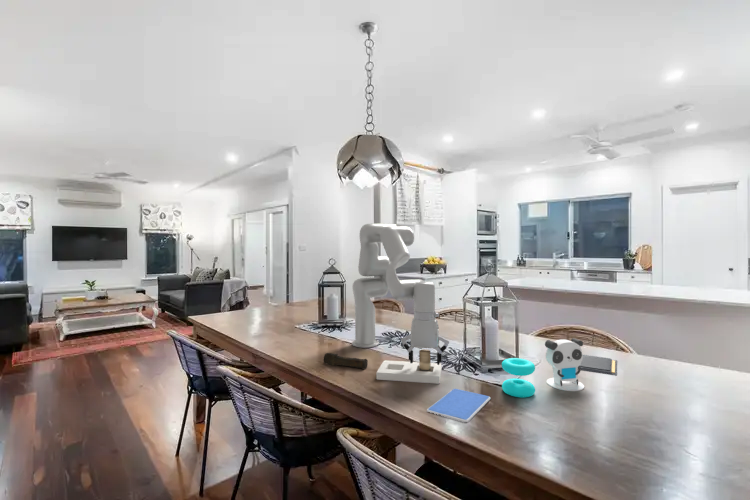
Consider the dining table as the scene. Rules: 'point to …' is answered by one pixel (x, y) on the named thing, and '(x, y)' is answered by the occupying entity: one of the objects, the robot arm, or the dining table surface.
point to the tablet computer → (459, 405)
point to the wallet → (599, 365)
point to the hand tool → (344, 361)
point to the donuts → (518, 385)
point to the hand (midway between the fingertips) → (425, 362)
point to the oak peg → (424, 360)
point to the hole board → (408, 372)
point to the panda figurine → (565, 364)
